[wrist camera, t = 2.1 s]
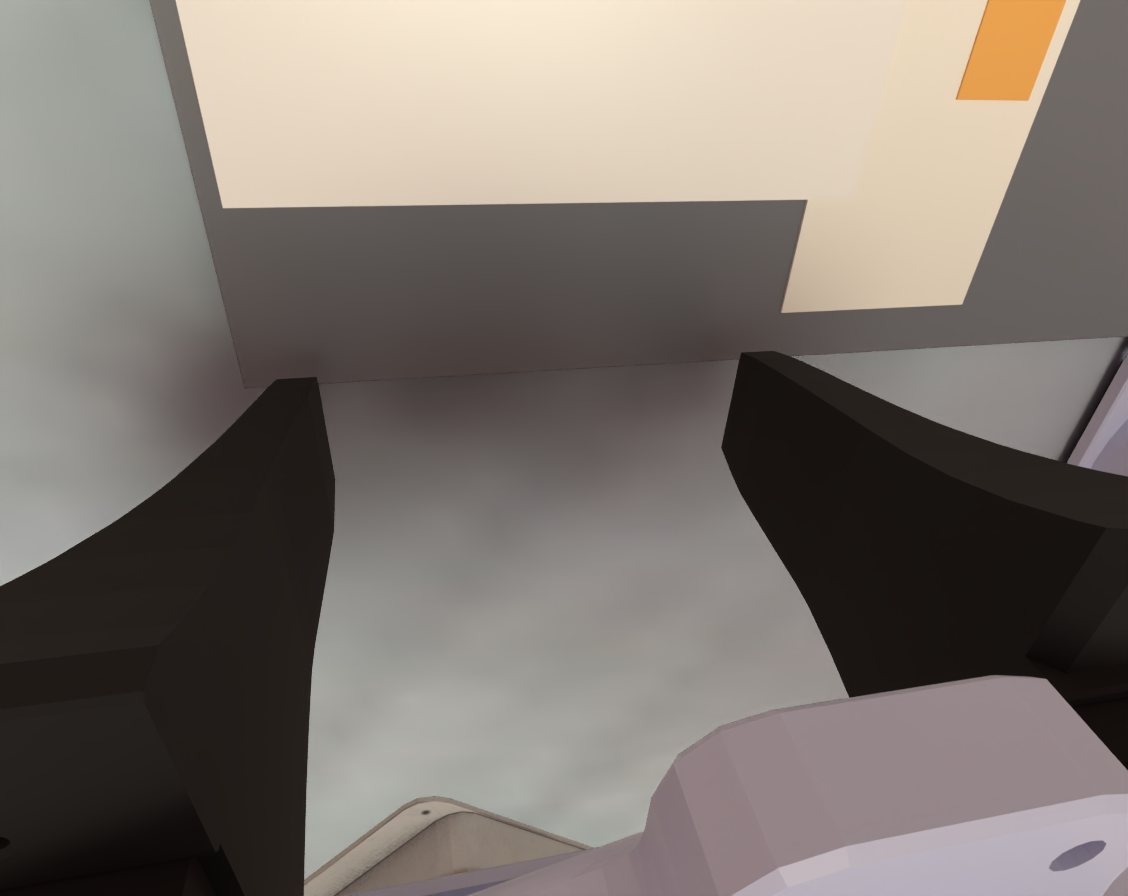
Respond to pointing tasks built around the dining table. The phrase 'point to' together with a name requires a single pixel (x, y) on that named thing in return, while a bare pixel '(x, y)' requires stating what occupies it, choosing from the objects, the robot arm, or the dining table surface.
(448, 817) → the emergency button
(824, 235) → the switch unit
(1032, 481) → the robot arm
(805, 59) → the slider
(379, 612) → the dining table surface
